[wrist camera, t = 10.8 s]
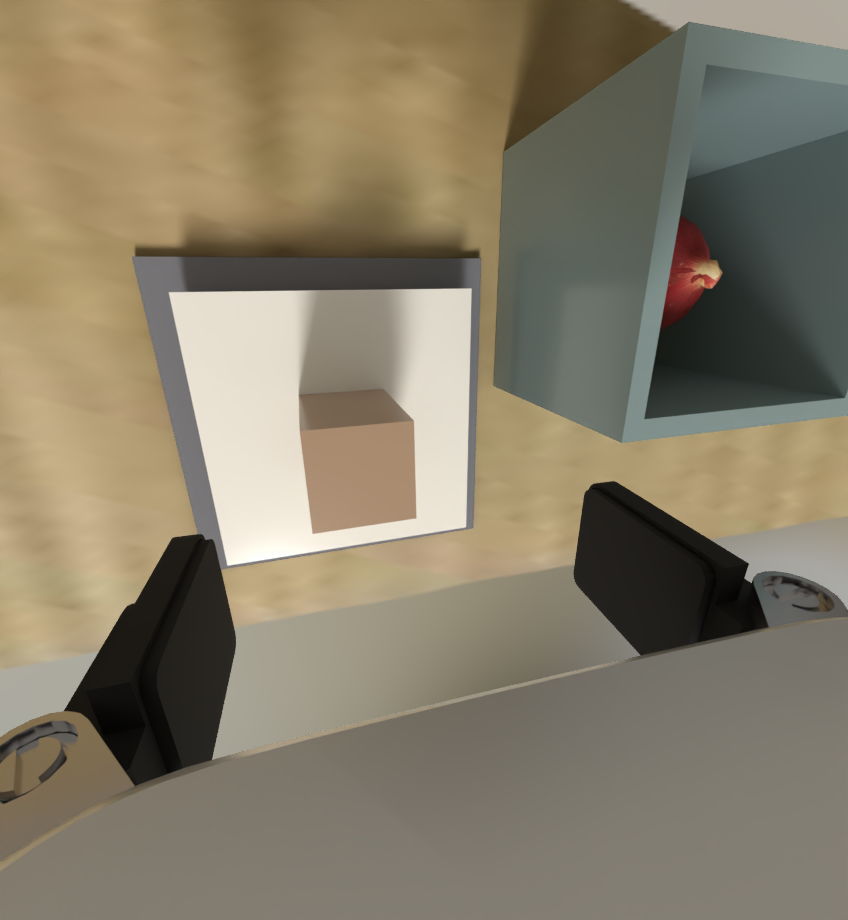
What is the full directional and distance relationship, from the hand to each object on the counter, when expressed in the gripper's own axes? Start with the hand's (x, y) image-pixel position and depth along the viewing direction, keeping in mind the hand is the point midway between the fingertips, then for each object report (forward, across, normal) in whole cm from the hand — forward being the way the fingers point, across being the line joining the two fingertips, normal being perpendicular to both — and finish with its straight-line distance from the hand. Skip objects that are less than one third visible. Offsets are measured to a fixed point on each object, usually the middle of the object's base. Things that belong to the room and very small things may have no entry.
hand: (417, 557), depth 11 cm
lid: (+13, +1, 0) cm, 13 cm away
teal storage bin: (+15, -14, -7) cm, 21 cm away
